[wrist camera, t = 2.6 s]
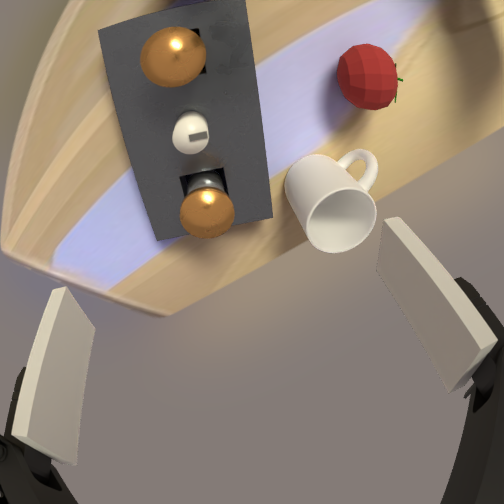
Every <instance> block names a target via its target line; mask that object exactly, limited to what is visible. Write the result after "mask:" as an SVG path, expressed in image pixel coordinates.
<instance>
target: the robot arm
mask: <svg viewBox="0 0 504 504" xmlns="http://www.w3.org/2000/svg"><path fill="white" fill-rule="evenodd" d="M376 271H377V272H378V274H379V276H380V277H381V279H382V280H383V282H384V283H385V285H386V286H387V288H388V289H389V291H390V293H391V294H392V296H393V297H394V299H395V301H396V302H397V304H398V305H399V307H400V309H401V310H402V312H403V314H404V315H405V317H406V318H407V320H408V322H409V323H410V325H411V327H412V329H413V330H414V332H415V333H416V335H417V337H418V339H419V341H420V342H421V344H422V346H423V348H424V349H425V351H426V353H427V355H428V356H429V358H430V360H431V362H432V363H433V365H434V367H435V369H436V371H437V373H438V375H439V377H440V379H441V380H442V382H443V384H444V386H445V388H446V390H447V392H448V394H449V393H451V392H453V391H455V390H457V389H459V388H461V387H463V386H464V385H465V384H466V383H467V382H468V381H469V379H470V378H471V377H472V379H473V381H474V384H473V385H472V386H471V387H470V388H469V389H468V391H467V392H466V393H465V395H464V398H467V397H468V396H469V395H470V394H471V396H470V401H469V407H468V412H467V417H466V421H465V425H464V430H463V434H462V438H461V442H460V446H459V449H458V453H457V456H456V460H455V463H454V466H453V469H452V473H451V476H450V479H449V482H448V484H447V487H446V490H445V493H444V495H443V498H442V501H441V503H440V504H504V327H503V325H502V324H501V323H500V321H499V320H498V318H497V317H496V316H495V314H494V313H493V312H492V310H491V309H490V308H489V306H488V305H486V302H485V301H484V300H483V298H482V297H480V294H479V293H478V292H477V291H476V289H475V288H474V287H473V286H472V285H471V284H470V283H468V282H467V281H466V280H464V279H463V278H461V277H460V278H456V279H453V278H452V277H451V275H450V274H449V273H448V272H447V271H446V269H445V268H444V267H443V266H442V264H441V263H440V262H439V261H438V260H437V258H436V257H435V256H434V255H433V254H432V253H431V252H430V250H429V249H428V248H427V247H426V246H425V245H424V243H423V242H422V241H421V240H420V239H419V238H418V237H417V236H416V234H415V233H414V232H413V231H412V230H411V229H410V228H409V227H408V226H407V225H406V223H405V222H404V221H403V220H402V219H401V218H400V217H393V218H388V219H384V220H383V226H382V235H381V242H380V249H379V257H378V263H377V270H376ZM94 333H95V328H94V326H93V325H92V323H91V322H90V321H89V319H88V318H87V316H86V315H85V313H84V312H83V311H82V309H81V308H80V306H79V305H78V303H77V302H76V300H75V299H74V297H73V296H72V294H71V293H70V291H69V289H68V288H67V286H66V287H62V288H57V289H53V291H52V293H51V296H50V298H49V301H48V304H47V306H46V309H45V312H44V314H43V317H42V320H41V323H40V326H39V329H38V332H37V334H36V338H35V341H34V344H33V347H32V350H31V353H30V357H29V360H28V364H27V367H23V369H22V370H21V372H20V374H19V376H18V377H17V380H16V384H15V388H14V392H13V396H12V401H11V404H10V409H9V414H8V418H7V423H6V428H5V433H4V437H3V436H2V435H0V494H1V497H0V504H78V503H77V501H76V500H75V498H74V497H73V495H72V494H71V492H70V491H69V489H68V488H67V486H66V484H65V483H64V481H63V480H62V478H61V476H60V475H59V473H58V471H57V470H56V468H55V467H54V466H53V465H52V464H51V459H53V460H55V461H57V462H59V463H61V464H68V465H77V454H78V441H79V429H80V420H81V411H82V404H83V396H84V389H85V383H86V376H87V370H88V364H89V359H90V353H91V348H92V343H93V338H94Z"/></svg>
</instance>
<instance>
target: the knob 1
mask: <svg viewBox="0 0 504 504" xmlns="http://www.w3.org/2000/svg"><path fill="white" fill-rule="evenodd" d="M205 61H206V49H205V45H204V43H203V41H202V39H201V38H200V37H199V36H198V35H197V34H196V33H195V32H193V31H191V30H189V29H187V28H183V27H168V28H164V29H162V30H159V31H158V32H156V33H154V34H153V35H152V36H151V37H150V38H149V39H148V40H147V41H146V43H145V44H144V46H143V48H142V51H141V56H140V63H141V68H142V70H143V72H144V74H145V76H146V77H147V78H148V79H149V80H150V81H152V82H153V83H155V84H157V85H159V86H162V87H179V86H182V85H185V84H187V83H189V82H191V81H192V80H193V79H195V78H196V77H197V76H198V75H199V73H200V72H201V70H202V69H203V67H204V64H205Z"/></svg>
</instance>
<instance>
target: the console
mask: <svg viewBox="0 0 504 504" xmlns="http://www.w3.org/2000/svg"><path fill="white" fill-rule="evenodd" d="M168 27H183V28H187V29H189V30H191V31H193V32H195V31H199V33H200V38H201V39H202V41H203V43H204V45H205V49H206V61H205V68H206V70H203V71H201V72H200V73H199V75H198V76H197V77H196V78H195V79H193V80H192V81H191V82H189V83H187V84H185V85H182V86H179V87H162V86H159V85H157V84H155V83H153V82H152V81H150V80H149V79H148V78H147V77H146V76H145V74H144V72H143V70H142V68H141V63H140V56H141V51H142V48H143V46H144V44H145V43H146V41H147V40H148V39H149V38H150V37H151V36H152V35H153V34H154V33H156V32H158V31H159V30H162V29H164V28H168ZM98 34H99V39H100V44H101V49H102V54H103V58H104V63H105V67H106V72H107V76H108V80H109V84H110V89H111V93H112V97H113V101H114V104H115V108H116V112H117V116H118V120H119V123H120V127H121V130H122V134H123V138H124V141H125V145H126V148H127V151H128V155H129V158H130V161H131V165H132V168H133V171H134V174H135V177H136V181H137V184H138V187H139V190H140V193H141V196H142V199H143V202H144V205H145V208H146V211H147V214H148V217H149V219H150V222H151V225H152V228H153V231H154V234H155V236H156V239H157V241H160V240H164V239H169V238H174V237H179V236H183V235H188V234H190V233H188V232H187V231H186V230H185V229H184V227H183V226H182V224H181V221H180V207H181V203H182V201H183V199H184V198H185V196H186V195H187V187H188V186H187V182H186V178H185V175H188V174H193V173H198V172H203V171H207V170H212V169H217V168H222V167H223V168H224V173H225V179H226V184H227V187H225V188H224V192H225V193H226V194H228V196H229V197H230V198H231V200H232V203H233V207H234V212H235V216H234V221H233V223H232V225H231V226H233V225H238V224H243V223H248V222H253V221H259V220H264V219H269V218H273V212H272V202H271V193H270V184H269V176H268V167H267V158H266V150H265V142H264V133H263V125H262V117H261V109H260V102H259V94H258V86H257V79H256V71H255V64H254V57H253V50H252V43H251V36H250V29H249V22H248V15H247V9H246V2H245V0H214V1H208V2H202V3H196V4H191V5H186V6H181V7H176V8H172V9H167V10H163V11H159V12H155V13H151V14H147V15H144V16H140V17H137V18H133V19H130V20H127V21H124V22H120V23H117V24H114V25H111V26H109V27H106V28H103V29H100V30H98ZM189 111H195V112H198V113H200V114H202V115H203V116H204V117H205V119H206V120H207V124H208V134H209V140H208V143H207V145H206V147H205V148H204V149H203V150H202V151H200V152H198V153H196V154H184V153H182V152H180V151H179V150H177V149H176V147H175V146H174V144H173V140H172V136H173V131H174V128H175V125H176V121H177V119H178V118H179V117H180V116H181V115H182V114H184V113H186V112H189Z"/></svg>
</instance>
